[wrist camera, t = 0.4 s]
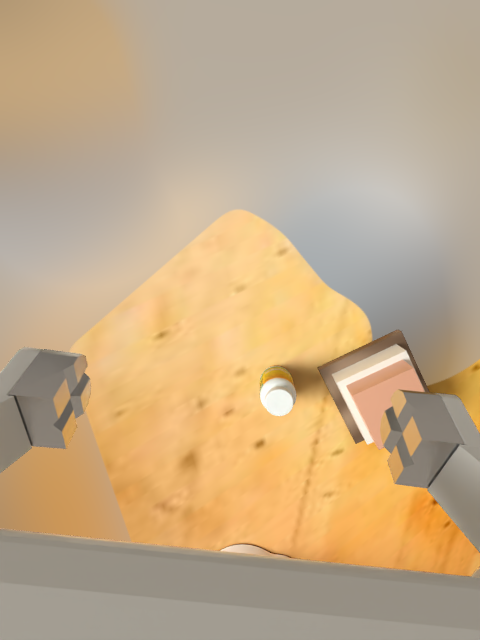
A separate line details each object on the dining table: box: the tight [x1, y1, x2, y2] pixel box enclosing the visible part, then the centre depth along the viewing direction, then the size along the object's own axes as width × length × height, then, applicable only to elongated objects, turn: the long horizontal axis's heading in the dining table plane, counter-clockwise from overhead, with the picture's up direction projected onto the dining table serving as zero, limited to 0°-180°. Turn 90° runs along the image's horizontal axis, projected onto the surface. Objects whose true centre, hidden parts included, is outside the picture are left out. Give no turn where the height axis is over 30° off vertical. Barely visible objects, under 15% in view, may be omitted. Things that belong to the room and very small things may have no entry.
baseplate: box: [318, 330, 430, 444], centre depth 62 cm, size 14×14×2 cm
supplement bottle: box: [260, 366, 296, 416], centre depth 58 cm, size 5×5×10 cm
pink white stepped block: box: [332, 344, 425, 450], centre depth 57 cm, size 11×11×8 cm
